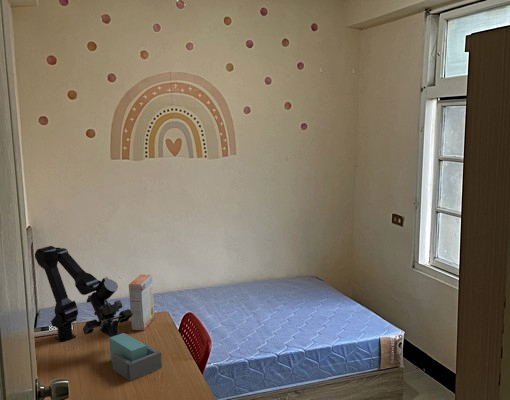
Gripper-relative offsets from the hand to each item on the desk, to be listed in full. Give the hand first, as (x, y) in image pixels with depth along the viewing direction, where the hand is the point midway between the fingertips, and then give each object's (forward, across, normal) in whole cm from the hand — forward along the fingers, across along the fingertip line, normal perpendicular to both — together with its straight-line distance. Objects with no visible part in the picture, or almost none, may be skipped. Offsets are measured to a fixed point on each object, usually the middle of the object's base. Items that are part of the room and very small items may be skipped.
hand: (117, 340), depth 189 cm
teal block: (+10, 0, -1) cm, 11 cm away
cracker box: (-9, +24, +19) cm, 32 cm away
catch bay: (+14, 0, -5) cm, 14 cm away
